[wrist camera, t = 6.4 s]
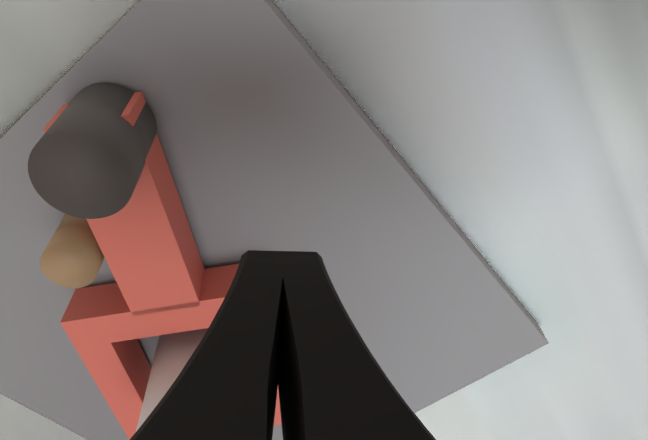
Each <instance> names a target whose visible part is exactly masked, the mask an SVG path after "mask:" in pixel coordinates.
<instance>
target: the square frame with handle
mask: <svg viewBox="0 0 648 440" xmlns="http://www.w3.org/2000/svg"><path fill="white" fill-rule="evenodd" d="M43 130H44V132H45V134H44V135H43V136H42V137H41V139H40V140H39V141H38V142H37V144H36V145H35V146H34V147H33V149H32V151H31V153H30V155H29V159H28V174H29V177H30V180H31V183H32V185H33V187H34V188H35V190H36V191H37V193H38V194H39V195H40V196H41V197H42V198H43V199H44V200H45V201H46V202H47V203H48V204H49V205H51V206H52V207H54V208H55V209H57V210H59V211H61V212H63V213H65V214H68V215H71V216H74V217H78V218H84V219H86V220H87V222H88V224H89V226H90V228H91V230H92V232H93V234H94V236H95V238H96V240H97V242H98V245H99V247H100V249H101V251H102V253H103V255H104V257H105V259H106V261H107V263H108V265H109V268H110V270H111V272H112V274H113V276H114V278H115V280H116V282H117V283H111V284H105V285H98V286H92V287H85V288H79V289H75V291H74V293H73V296H72V298H71V300H70V302H69V304H68V306H67V309H66V311H65V313H64V315H63V317H62V319H61V322H60V323H61V325H62V327H63V328H64V330H65V332H66V334H67V335H68V337H69V339H70V340H71V342H72V344H73V345H74V347H75V349H76V350H77V352H78V354H79V356H80V357H81V359H82V361H83V362H84V364H85V366H86V367H87V369H88V371H89V372H90V374H91V376H92V378H93V379H94V381H95V383H96V384H97V386H98V388H99V389H100V391H101V393H102V394H103V396H104V398H105V400H106V401H107V403H108V405H109V406H110V408H111V410H112V411H113V413H114V415H115V417H116V418H117V420H118V422H119V423H120V425H121V427H122V428H123V430H124V432H125V433H126V435H127V437H128V439H129V440H130V438H131V437H132V436H133V435H134V434H135V433H136V429H137V425H138V420H139V416H140V412H141V408H142V404H143V400H144V396H145V392H146V388H147V384H148V380H149V376H150V372H151V367H150V365H149V363H148V361H147V359H146V357H145V355H144V353H143V350H142V348H141V346H140V344H139V342H138V340H137V339H139V338H146V337H152V336H159V335H165V334H172V333H179V332H185V331H192V330H198V329H205V328H209V326H210V324H211V322H212V321H213V319H214V317H215V315H216V313H217V312H218V310H219V308H220V306H221V304H222V302H223V300H224V298H225V296H226V294H227V292H228V290H229V288H230V286H231V284H232V281H233V279H234V277H235V274H236V272H237V269H238V266H239V264H233V265H227V266H220V267H214V268H208V269H204V266H203V263H202V260H201V257H200V254H199V251H198V249H197V246H196V243H195V240H194V237H193V234H192V232H191V229H190V226H189V223H188V220H187V217H186V215H185V212H184V209H183V206H182V203H181V200H180V197H179V195H178V192H177V189H176V186H175V183H174V180H173V178H172V175H171V172H170V169H169V166H168V163H167V161H166V158H165V155H164V152H163V149H162V146H161V143H160V141H159V138H158V135H157V124H156V119H155V116H154V114H153V112H152V110H151V108H150V107H149V105H148V104H147V103H146V101H145V98H144V95H143V92H142V91H139V92H133V91H132V90H130V89H128V88H126V87H123V86H120V85H117V84H111V83H99V84H94V85H90V86H88V87H86V88H84V89H82V90H81V91H80V92H79V93H77V95H76V96H75V97H74V98H73V99H72V101H71V102H70V103H67V104H63V106H62V107H61V108H60V109H59V110H58V112H57V113H56V114H55V115H54V116H53V118H52V119H51V120H50V121H49V122H48V124H47V125H46V126H45V127H44V128H43ZM275 425H282V424H281V413H280V401H279V390H278V389H277V399H276V408H275V417H274V426H275Z"/></svg>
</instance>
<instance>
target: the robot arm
mask: <svg viewBox="0 0 648 440" xmlns="http://www.w3.org/2000/svg"><path fill="white" fill-rule="evenodd" d="M277 389H278V390H279V401H280V413H281V424H282V435H283V440H436V439H435V438H434V437H433V436H432V434H431V433H430V432H429V431H428V430H427V429H426V427H425V426H424V425H423V424H422V422H421V421H420V420H419V419H418V417H417V416H416V415H415V414H414V412H413V411H412V410H411V409H410V407H409V406H408V405H407V403H406V402H405V401H404V399H403V398H402V397H401V395H400V394H399V393H398V391H397V390H396V389H395V387H394V386H393V384H392V383H391V382H390V380H389V379H388V377H387V376H386V374H385V373H384V371H383V370H382V369H381V367H380V366H379V364H378V363H377V361H376V360H375V358H374V357H373V355H372V354H371V352H370V350H369V349H368V347H367V346H366V344H365V343H364V341H363V339H362V337H361V336H360V334H359V332H358V331H357V329H356V327H355V326H354V324H353V322H352V320H351V319H350V317H349V315H348V313H347V312H346V310H345V308H344V306H343V304H342V302H341V300H340V298H339V296H338V294H337V292H336V290H335V288H334V286H333V284H332V282H331V280H330V277H329V275H328V273H327V270H326V268H325V265H324V262H323V259H322V257H321V256H320V255H319V254H318V253H317V252H305V251H258V250H248V251H246V252H245V253H244V254H243V255H242V256H241V259H240V263H239V266H238V269H237V272H236V274H235V277H234V279H233V281H232V284H231V286H230V288H229V290H228V292H227V294H226V296H225V298H224V300H223V302H222V304H221V306H220V308H219V310H218V312H217V313H216V315H215V317H214V319H213V321H212V322H211V324H210V326H209V328H208V330H207V331H206V333H205V335H204V337H203V338H202V340H201V341H200V343H199V345H198V346H197V348H196V349H195V351H194V352H193V354H192V355H191V357H190V358H189V360H188V362H187V363H186V365H185V366H184V368H183V369H182V371H181V372H180V374H179V375H178V377H177V378H176V380H175V381H174V383H173V384H172V385H171V387H170V388H169V390H168V391H167V392H166V394H165V395H164V396H163V398H162V399H161V400H160V402H159V403H158V405H157V406H156V407H155V408H154V410H153V411H152V412H151V414H150V415H149V416H148V417H147V419H146V420H145V421H144V423H143V424H142V425H141V426H140V428H139V429H138V430H137V431H136V433H135V434H134V435H133V436H132V437H131V438H130V440H272V436H273V427H274V417H275V408H276V399H277Z"/></svg>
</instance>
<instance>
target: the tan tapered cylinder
mask: <svg viewBox="0 0 648 440" xmlns="http://www.w3.org/2000/svg"><path fill="white" fill-rule="evenodd" d="M103 260H104V255H103V253H102V251H101V249H100V247H99V245H98V242H97V240H96V238H95V236H94V234H93V232H92V230H91V228H90V226H89V224H88V222H87V220H86V219H84V218H78V217H74V216H71V215H68V214H65V216H64V217H63V219H62V221H61V223H60V224H59V226H58V228H57V229H56V231H55V233H54V235H53V236H52V238H51V240H50V242H49V243H48V245H47V247H46V248H45V250H44V252H43V254H42V255H41V257H40V268H41V270H42V272H43V274H44V275H45V276H46V277H47V278H48V279H49V280H50V281H52V282H54V283H55V284H57V285H60V286H63V287H67V288H81V287H85V286H87V285H89V284H91V283H92V282H93V281H94V280H95V278H96V276H97V274H98V272H99V269H100V267H101V265H102V262H103Z"/></svg>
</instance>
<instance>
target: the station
mask: <svg viewBox="0 0 648 440" xmlns="http://www.w3.org/2000/svg"><path fill="white" fill-rule="evenodd" d="M99 83H111V84H117V85H120V86H123V87H126V88H128V89H130V90H132V91H133V92H139V91H142V92H143V95H144V98H145V101H146V103H147V104H148V105H149V107H150V108H151V110H152V112H153V114H154V116H155V119H156V124H157V135H158V138H159V141H160V143H161V146H162V149H163V152H164V155H165V158H166V161H167V163H168V166H169V169H170V172H171V175H172V178H173V180H174V183H175V186H176V189H177V192H178V195H179V197H180V200H181V203H182V206H183V209H184V212H185V215H186V217H187V220H188V223H189V226H190V229H191V232H192V234H193V237H194V240H195V243H196V246H197V249H198V251H199V254H200V257H201V260H202V263H203V266H204V269H208V268H214V267H220V266H227V265H233V264H239V263H240V259H241V256H242V255H243V254H244V253H245V252H246V251H248V250H258V251H305V252H317V253H318V254H319V255H320V256H321V257H322V259H323V262H324V265H325V268H326V270H327V273H328V275H329V277H330V280H331V282H332V284H333V286H334V288H335V290H336V292H337V294H338V296H339V298H340V300H341V302H342V304H343V306H344V308H345V310H346V312H347V313H348V315H349V317H350V319H351V320H352V322H353V324H354V326H355V327H356V329H357V331H358V332H359V334H360V336H361V337H362V339H363V341H364V343H365V344H366V346H367V347H368V349H369V350H370V352H371V354H372V355H373V357H374V358H375V360H376V361H377V363H378V364H379V366H380V367H381V369H382V370H383V371H384V373H385V374H386V376H387V377H388V379H389V380H390V382H391V383H392V384H393V386H394V387H395V389H396V390H397V391H398V393H399V394H400V395H401V397H402V398H403V399H404V401H405V402H406V403H407V405H408V406H409V407H410V409H411V410H412V411H413V412H414V413H415V412H417V411H419V410H421V409H423V408H425V407H427V406H429V405H431V404H433V403H435V402H437V401H438V400H440V399H442V398H444V397H446V396H448V395H450V394H452V393H454V392H456V391H458V390H460V389H461V388H463V387H465V386H467V385H469V384H471V383H473V382H475V381H477V380H479V379H481V378H483V377H485V376H486V375H488V374H490V373H492V372H494V371H496V370H498V369H500V368H502V367H504V366H506V365H508V364H509V363H511V362H513V361H515V360H517V359H519V358H521V357H523V356H525V355H527V354H529V353H531V352H533V351H534V350H536V349H538V348H540V347H542V346H544V345H546V344H548V341H547V339H546V338H545V336H544V334H543V332H542V330H541V328H540V326H539V325H538V324H537V322H536V321H535V320H534V319H533V317H532V316H531V315H530V314H529V313H528V311H527V310H526V309H525V308H524V306H523V305H522V304H521V303H520V302H519V300H518V299H517V298H516V297H515V296H514V294H513V293H512V292H511V291H510V289H509V288H508V287H507V286H506V285H505V283H504V282H503V281H502V280H501V278H500V277H499V276H498V275H497V274H496V272H495V271H494V270H493V269H492V268H491V266H490V265H489V264H488V263H487V261H486V260H485V259H484V258H483V257H482V255H481V254H480V253H479V252H478V250H477V249H476V248H475V247H474V246H473V244H472V243H471V242H470V241H469V240H468V238H467V237H466V236H465V235H464V233H463V232H462V231H461V230H460V229H459V227H458V226H457V225H456V224H455V222H454V221H453V220H452V219H451V218H450V216H449V215H448V214H447V213H446V212H445V210H444V209H443V208H442V207H441V205H440V204H439V203H438V202H437V201H436V199H435V198H434V197H433V196H432V194H431V193H430V192H429V191H428V190H427V188H426V187H425V186H424V185H423V183H422V182H421V181H420V180H419V179H418V177H417V176H416V175H415V174H414V173H413V171H412V170H411V169H410V168H409V166H408V165H407V164H406V163H405V162H404V160H403V159H402V158H401V157H400V155H399V154H398V153H397V152H396V151H395V149H394V148H393V147H392V146H391V145H390V143H389V142H388V141H387V140H386V138H385V137H384V136H383V135H382V134H381V132H380V131H379V130H378V129H377V127H376V126H375V125H374V124H373V123H372V121H371V120H370V119H369V118H368V117H367V115H366V114H365V113H364V112H363V110H362V109H361V108H360V107H359V106H358V104H357V103H356V102H355V101H354V99H353V98H352V97H351V96H350V95H349V93H348V92H347V91H346V90H345V89H344V87H343V86H342V85H341V84H340V82H339V81H338V80H337V79H336V78H335V76H334V75H333V74H332V73H331V71H330V70H329V69H328V68H327V67H326V65H325V64H324V63H323V62H322V60H321V59H320V58H319V57H318V56H317V54H316V53H315V52H314V51H313V50H312V48H311V47H310V46H309V45H308V43H307V42H306V41H305V40H304V39H303V37H302V36H301V35H300V34H299V32H298V31H297V30H296V29H295V28H294V26H293V25H292V24H291V23H290V22H289V20H288V19H287V18H286V17H285V15H284V14H283V13H282V12H281V11H280V9H279V8H278V7H277V6H276V4H275V3H274V2H273V1H272V0H140V1H139V2H138V3H137V4H136V5H135V6H134V7H133V8H132V9H131V10H130V11H129V12H128V13H127V14H126V15H124V16H123V17H122V18H121V19H120V20H119V21H118V22H117V23H116V24H115V25H114V26H113V27H112V28H111V29H110V30H109V31H108V32H107V33H106V34H105V35H104V36H103V37H102V38H101V39H100V40H99V41H98V42H97V43H96V44H95V45H94V46H93V47H92V48H91V49H90V50H89V51H88V52H87V53H86V54H85V55H84V56H83V57H82V58H81V59H80V60H79V61H78V62H77V63H76V64H75V65H74V66H73V67H72V68H71V69H70V70H69V71H68V72H67V73H66V74H65V75H64V76H63V77H62V78H61V79H60V80H59V81H58V82H56V83H55V84H54V85H53V86H52V87H51V88H50V89H49V90H48V91H47V92H46V93H45V94H44V95H43V96H42V97H41V98H40V99H39V100H38V101H37V102H36V103H35V104H34V105H33V106H32V107H31V108H30V109H29V110H28V111H27V112H26V113H25V114H24V115H23V116H22V117H21V118H20V119H19V120H18V121H17V122H16V123H15V124H14V125H13V126H12V127H11V128H10V129H9V130H8V131H7V132H6V133H5V134H4V135H3V136H2V137H1V138H0V394H2V395H4V396H6V397H8V398H10V399H12V400H14V401H15V402H17V403H19V404H21V405H23V406H25V407H27V408H29V409H31V410H33V411H35V412H36V413H38V414H40V415H42V416H44V417H46V418H48V419H50V420H52V421H54V422H55V423H57V424H59V425H61V426H63V427H65V428H67V429H69V430H71V431H73V432H75V433H76V434H78V435H80V436H82V437H84V438H86V439H88V440H129V439H128V437H127V435H126V433H125V432H124V430H123V428H122V427H121V425H120V423H119V422H118V420H117V418H116V417H115V415H114V413H113V411H112V410H111V408H110V406H109V405H108V403H107V401H106V400H105V398H104V396H103V394H102V393H101V391H100V389H99V388H98V386H97V384H96V383H95V381H94V379H93V378H92V376H91V374H90V372H89V371H88V369H87V367H86V366H85V364H84V362H83V361H82V359H81V357H80V356H79V354H78V352H77V350H76V349H75V347H74V345H73V344H72V342H71V340H70V339H69V337H68V335H67V334H66V332H65V330H64V328H63V327H62V325H61V323H60V322H61V319H62V317H63V315H64V313H65V311H66V309H67V306H68V304H69V302H70V300H71V298H72V296H73V293H74V291H75V289H79V288H67V287H63V286H60V285H57V284H55V283H54V282H52V281H50V280H49V279H48V278H47V277H46V276H45V275H44V274H43V272H42V270H41V268H40V257H41V255H42V254H43V252H44V250H45V248H46V247H47V245H48V243H49V242H50V240H51V238H52V236H53V235H54V233H55V231H56V229H57V228H58V226H59V224H60V223H61V221H62V219H63V217H64V216H65V213H63V212H61V211H59V210H57V209H55V208H54V207H52V206H51V205H49V204H48V203H47V202H46V201H45V200H44V199H43V198H42V197H41V196H40V195H39V194H38V193H37V191H36V190H35V188H34V187H33V185H32V183H31V180H30V177H29V174H28V159H29V155H30V153H31V151H32V149H33V147H34V146H35V145H36V144H37V142H38V141H39V140H40V139H41V137H42V136H43V135H44V134H45V132H44V130H43V128H44V127H45V126H46V125H47V124H48V122H49V121H50V120H51V119H52V118H53V116H54V115H55V114H56V113H57V112H58V110H59V109H60V108H61V107H62V106H63V104H67V103H70V102H71V101H72V99H73V98H74V97H75V96H76V95H77V93H79V92H80V91H81V90H82V89H84V88H86V87H88V86H90V85H94V84H99ZM111 283H117V282H116V280H115V278H114V276H113V274H112V272H111V270H110V268H109V265H108V263H107V261H106V259H105V257H104V260H103V262H102V265H101V267H100V269H99V272H98V274H97V276H96V278H95V280H94V281H93V282H92V283H91V284H89V285H87V286H85V287H92V286H98V285H105V284H111ZM85 287H81V288H85ZM207 330H208V328H205V329H198V330H192V331H185V332H179V333H172V334H165V335H159V336H152V337H146V338H139V339H137V340H138V342H139V344H140V346H141V348H142V350H143V353H144V355H145V357H146V359H147V361H148V363H149V365H150V367H151V372H150V376H149V380H148V384H147V388H146V392H145V396H144V400H143V404H142V408H141V412H140V416H139V420H138V425H137V429H136V431H137V430H138V429H139V428H140V426H141V425H142V424H143V423H144V421H145V420H146V419H147V417H148V416H149V415H150V414H151V412H152V411H153V410H154V408H155V407H156V406H157V405H158V403H159V402H160V400H161V399H162V398H163V396H164V395H165V394H166V392H167V391H168V390H169V388H170V387H171V385H172V384H173V383H174V381H175V380H176V378H177V377H178V375H179V374H180V372H181V371H182V369H183V368H184V366H185V365H186V363H187V362H188V360H189V358H190V357H191V355H192V354H193V352H194V351H195V349H196V348H197V346H198V345H199V343H200V341H201V340H202V338H203V337H204V335H205V333H206V331H207ZM272 440H283V435H282V425H275V426H274V427H273V436H272Z"/></svg>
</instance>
